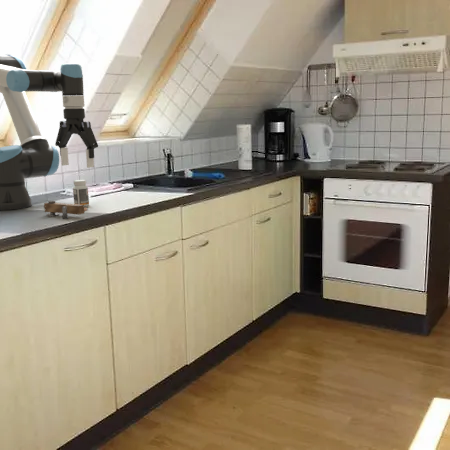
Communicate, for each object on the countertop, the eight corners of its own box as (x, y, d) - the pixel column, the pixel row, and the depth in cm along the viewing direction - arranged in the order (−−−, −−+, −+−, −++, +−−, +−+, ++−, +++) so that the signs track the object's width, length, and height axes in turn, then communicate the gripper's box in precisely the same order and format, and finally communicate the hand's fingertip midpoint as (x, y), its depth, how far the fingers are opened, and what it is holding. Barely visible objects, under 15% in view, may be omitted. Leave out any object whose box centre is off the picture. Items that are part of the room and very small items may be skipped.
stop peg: (61, 218, 203) (61, 207, 202) (65, 217, 204) (64, 206, 203) (65, 219, 202) (64, 207, 201) (68, 218, 203) (67, 206, 203)
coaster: (54, 211, 217) (53, 210, 217) (74, 207, 225) (74, 206, 225) (73, 213, 212) (73, 212, 211) (93, 209, 220) (93, 208, 220)
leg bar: (44, 211, 210) (44, 201, 209) (49, 210, 212) (48, 200, 211) (79, 214, 203) (78, 204, 202) (84, 213, 205) (83, 202, 204)
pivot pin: (43, 215, 209) (43, 212, 209) (53, 213, 213) (53, 210, 213) (52, 216, 207) (52, 213, 207) (61, 214, 211) (61, 211, 210)
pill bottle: (90, 204, 231) (88, 179, 229) (87, 206, 226) (85, 181, 224) (75, 204, 231) (74, 179, 229) (72, 207, 225) (70, 181, 223)
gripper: (42, 108, 217) (47, 165, 221) (90, 108, 203) (93, 169, 208) (59, 107, 223) (62, 163, 227) (105, 107, 209) (109, 167, 214)
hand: (77, 166), depth 218 cm, fingers open, 13 cm apart
